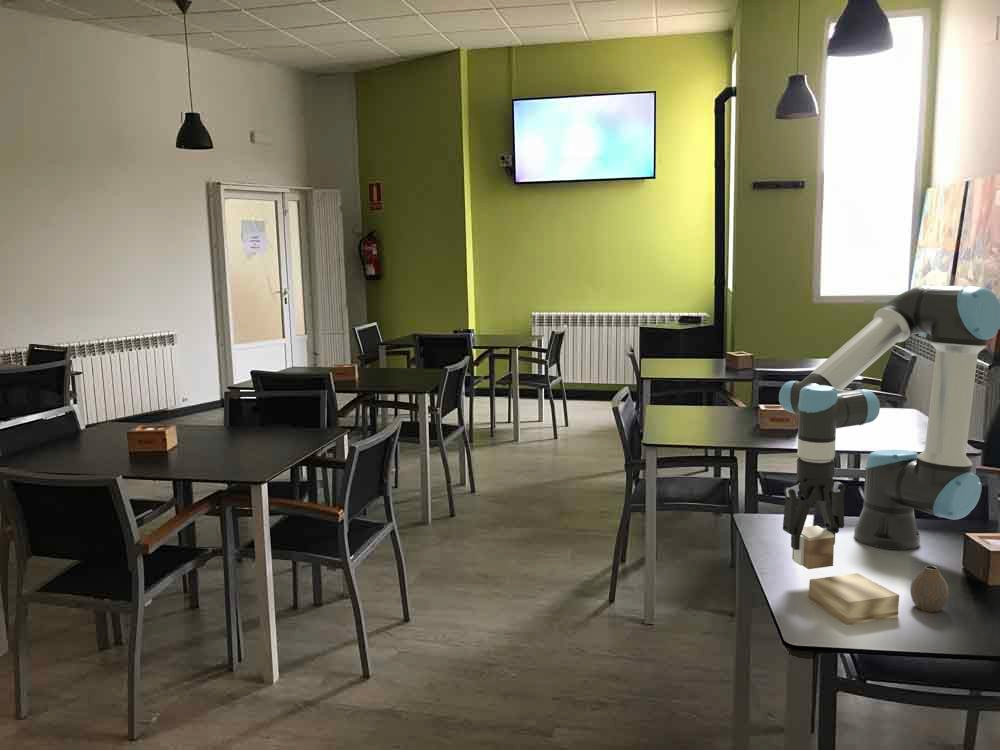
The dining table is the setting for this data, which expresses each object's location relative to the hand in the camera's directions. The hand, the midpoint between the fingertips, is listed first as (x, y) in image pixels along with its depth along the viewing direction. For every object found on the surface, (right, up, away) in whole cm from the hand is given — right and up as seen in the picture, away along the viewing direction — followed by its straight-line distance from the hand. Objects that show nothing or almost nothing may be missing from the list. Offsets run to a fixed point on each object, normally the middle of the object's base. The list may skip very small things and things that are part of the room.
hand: (812, 561), depth 181 cm
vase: (+20, -8, -10) cm, 24 cm away
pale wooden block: (0, 0, 0) cm, 0 cm away
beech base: (+4, -8, -10) cm, 14 cm away
